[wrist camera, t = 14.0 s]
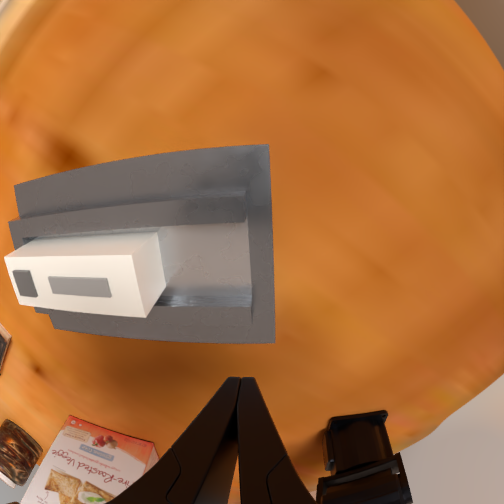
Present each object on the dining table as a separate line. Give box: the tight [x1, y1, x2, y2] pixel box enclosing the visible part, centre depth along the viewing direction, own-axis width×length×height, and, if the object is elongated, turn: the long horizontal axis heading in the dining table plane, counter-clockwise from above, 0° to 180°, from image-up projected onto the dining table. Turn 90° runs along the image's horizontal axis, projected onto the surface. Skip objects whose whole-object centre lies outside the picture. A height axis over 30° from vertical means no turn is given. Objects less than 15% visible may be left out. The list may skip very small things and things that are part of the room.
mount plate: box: [8, 144, 275, 343], centre depth 19 cm, size 21×14×3 cm, turn 93°
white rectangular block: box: [4, 232, 166, 318], centre depth 18 cm, size 12×4×4 cm, turn 93°
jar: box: [0, 419, 42, 489], centre depth 34 cm, size 12×12×15 cm
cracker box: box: [20, 416, 159, 504], centre depth 22 cm, size 14×6×21 cm, turn 86°
